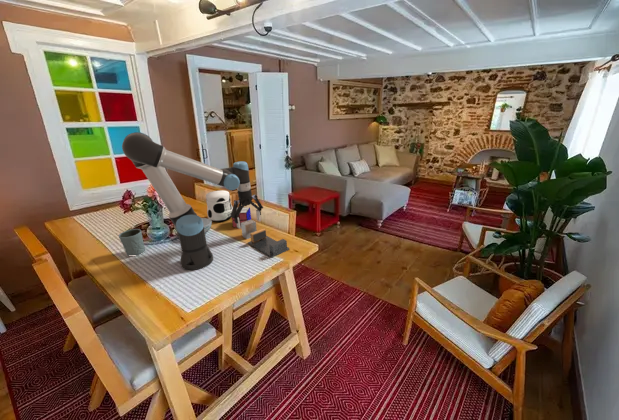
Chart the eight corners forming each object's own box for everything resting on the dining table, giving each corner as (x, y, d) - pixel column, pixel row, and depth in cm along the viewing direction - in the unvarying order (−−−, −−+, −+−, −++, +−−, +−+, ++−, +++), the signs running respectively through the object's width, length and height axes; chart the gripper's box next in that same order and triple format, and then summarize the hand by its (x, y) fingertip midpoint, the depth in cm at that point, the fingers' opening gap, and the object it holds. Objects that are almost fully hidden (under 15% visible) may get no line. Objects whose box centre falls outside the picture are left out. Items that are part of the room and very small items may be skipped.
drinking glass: (150, 249, 150) (145, 229, 145) (135, 258, 141) (129, 238, 136) (136, 247, 152) (130, 228, 148) (120, 256, 143) (113, 236, 139)
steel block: (246, 239, 158) (245, 225, 154) (242, 236, 161) (240, 222, 158) (257, 235, 162) (255, 221, 159) (252, 232, 165) (251, 219, 162)
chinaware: (202, 227, 175) (200, 216, 172) (218, 232, 168) (216, 220, 165) (182, 236, 163) (179, 225, 160) (198, 242, 156) (196, 230, 153)
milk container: (210, 214, 196) (206, 191, 189) (235, 212, 198) (231, 189, 192) (206, 224, 180) (201, 198, 173) (233, 221, 182) (229, 196, 176)
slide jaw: (253, 242, 150) (252, 234, 148) (251, 241, 152) (250, 233, 150) (267, 237, 156) (266, 229, 154) (264, 236, 158) (263, 228, 156)
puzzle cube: (248, 227, 174) (246, 212, 170) (232, 227, 174) (230, 213, 170) (251, 220, 183) (250, 207, 179) (237, 221, 183) (235, 207, 180)
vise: (271, 258, 137) (270, 247, 135) (248, 243, 152) (246, 234, 150) (289, 249, 145) (288, 239, 142) (265, 236, 160) (264, 227, 158)
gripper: (226, 196, 141) (233, 233, 149) (266, 185, 156) (270, 219, 164) (220, 193, 146) (226, 229, 154) (259, 183, 161) (263, 216, 169)
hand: (249, 224), depth 159 cm, fingers open, 13 cm apart
